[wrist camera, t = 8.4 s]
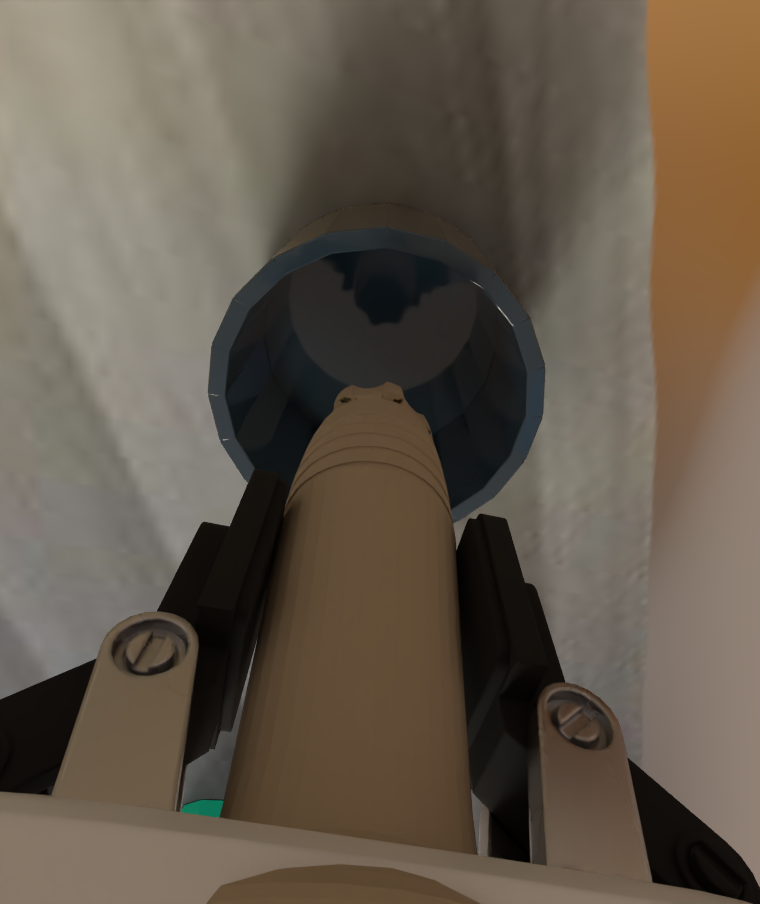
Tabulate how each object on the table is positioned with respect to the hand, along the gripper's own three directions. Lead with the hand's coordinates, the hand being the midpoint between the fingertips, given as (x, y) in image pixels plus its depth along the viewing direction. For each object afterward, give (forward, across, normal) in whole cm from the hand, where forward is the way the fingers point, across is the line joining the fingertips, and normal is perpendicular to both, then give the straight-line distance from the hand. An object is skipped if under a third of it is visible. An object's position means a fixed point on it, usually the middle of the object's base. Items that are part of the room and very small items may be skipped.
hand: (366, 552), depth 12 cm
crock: (+15, 0, 0) cm, 15 cm away
